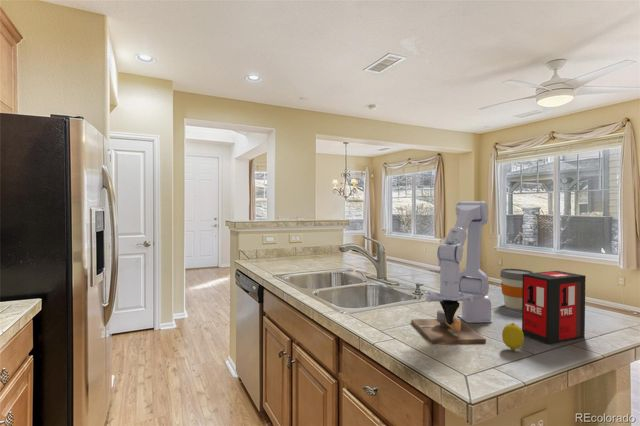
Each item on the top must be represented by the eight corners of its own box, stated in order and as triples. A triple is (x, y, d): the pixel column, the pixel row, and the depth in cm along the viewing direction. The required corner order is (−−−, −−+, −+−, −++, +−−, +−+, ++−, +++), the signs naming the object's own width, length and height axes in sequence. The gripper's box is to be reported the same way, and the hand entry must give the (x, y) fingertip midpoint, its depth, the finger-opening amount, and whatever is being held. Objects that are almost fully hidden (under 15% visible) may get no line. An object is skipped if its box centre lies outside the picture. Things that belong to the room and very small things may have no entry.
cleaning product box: (548, 344, 102) (549, 279, 102) (521, 334, 111) (522, 273, 110) (584, 337, 108) (585, 275, 108) (556, 328, 116) (557, 270, 116)
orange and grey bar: (434, 318, 117) (434, 310, 117) (448, 318, 117) (448, 309, 117) (451, 331, 105) (451, 322, 105) (466, 331, 105) (466, 321, 105)
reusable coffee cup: (534, 313, 133) (535, 275, 133) (498, 307, 140) (499, 272, 139) (534, 305, 144) (534, 270, 144) (500, 300, 150) (501, 267, 150)
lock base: (457, 321, 122) (457, 314, 122) (485, 342, 103) (485, 334, 103) (411, 322, 121) (411, 315, 121) (431, 344, 102) (431, 335, 102)
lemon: (497, 346, 101) (498, 320, 101) (515, 346, 101) (515, 319, 101) (509, 354, 95) (510, 326, 95) (528, 354, 96) (528, 326, 96)
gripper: (432, 284, 103) (431, 328, 103) (478, 284, 104) (477, 327, 104) (423, 279, 110) (423, 320, 111) (466, 279, 111) (466, 320, 111)
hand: (449, 323), depth 108 cm, fingers closed
